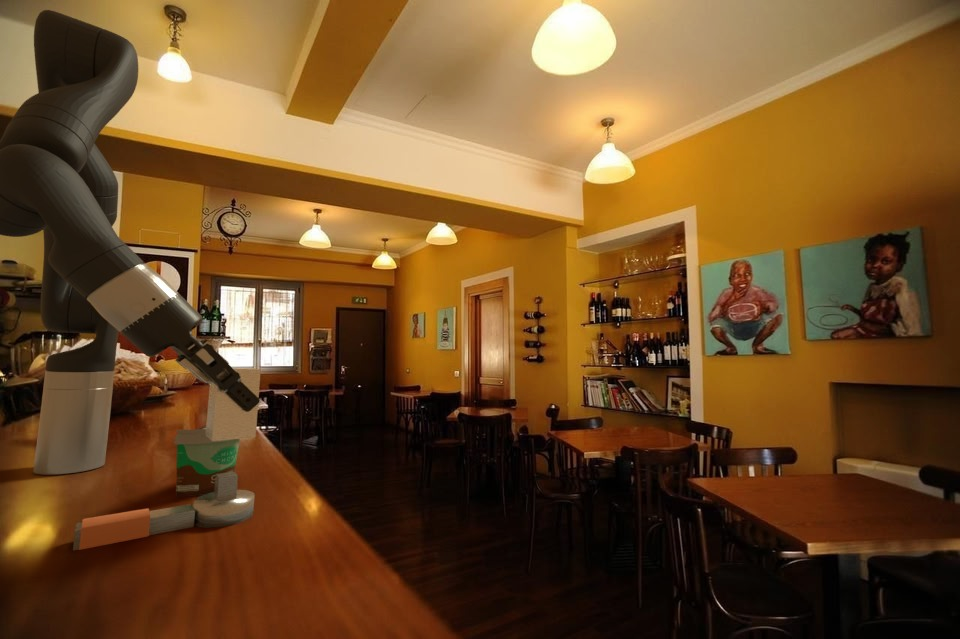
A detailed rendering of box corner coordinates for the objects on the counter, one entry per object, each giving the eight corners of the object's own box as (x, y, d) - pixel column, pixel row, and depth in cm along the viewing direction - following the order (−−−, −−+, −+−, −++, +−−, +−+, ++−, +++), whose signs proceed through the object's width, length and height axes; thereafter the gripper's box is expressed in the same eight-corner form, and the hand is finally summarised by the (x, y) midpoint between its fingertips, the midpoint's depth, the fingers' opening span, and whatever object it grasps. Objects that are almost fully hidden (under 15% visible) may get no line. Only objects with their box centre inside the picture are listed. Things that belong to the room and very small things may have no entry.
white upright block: (205, 435, 58) (211, 368, 59) (246, 432, 61) (251, 368, 62) (212, 441, 54) (218, 369, 55) (255, 437, 57) (260, 369, 58)
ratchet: (75, 535, 50) (80, 486, 51) (246, 504, 62) (249, 465, 62) (71, 557, 45) (77, 503, 45) (259, 519, 57) (262, 476, 57)
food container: (210, 501, 62) (216, 431, 63) (168, 499, 63) (175, 430, 63) (255, 477, 75) (260, 419, 76) (221, 476, 75) (226, 418, 76)
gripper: (183, 284, 49) (286, 388, 56) (170, 296, 60) (257, 382, 67) (118, 327, 45) (237, 433, 52) (116, 332, 56) (215, 419, 63)
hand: (248, 404), depth 59 cm, fingers closed on white upright block, 5 cm apart
